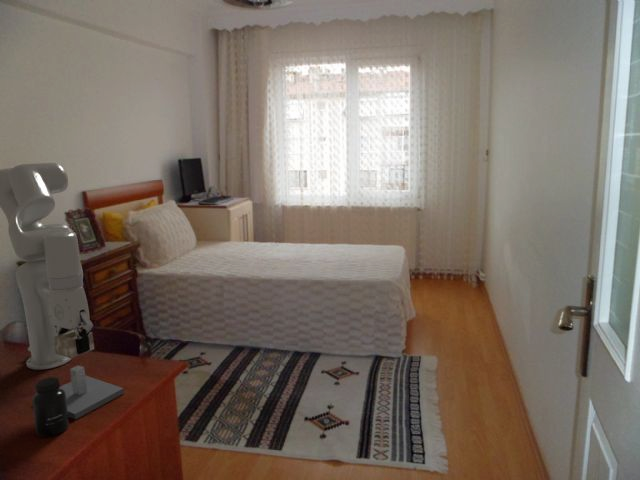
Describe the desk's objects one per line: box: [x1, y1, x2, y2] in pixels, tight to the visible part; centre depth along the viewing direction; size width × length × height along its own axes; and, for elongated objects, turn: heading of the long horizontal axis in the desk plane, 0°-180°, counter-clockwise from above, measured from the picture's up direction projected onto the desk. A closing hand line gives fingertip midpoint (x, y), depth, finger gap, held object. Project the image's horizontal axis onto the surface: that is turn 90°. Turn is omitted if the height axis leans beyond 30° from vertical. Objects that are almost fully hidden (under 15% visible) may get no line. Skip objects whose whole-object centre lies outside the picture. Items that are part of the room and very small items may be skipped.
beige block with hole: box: [53, 328, 95, 360], centre depth 124 cm, size 6×6×5 cm
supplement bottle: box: [31, 377, 70, 438], centre depth 113 cm, size 7×7×12 cm
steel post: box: [69, 365, 87, 396], centre depth 127 cm, size 2×2×7 cm
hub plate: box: [60, 374, 125, 420], centre depth 127 cm, size 16×14×2 cm
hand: (74, 348), depth 125 cm, fingers closed on beige block with hole, 6 cm apart
